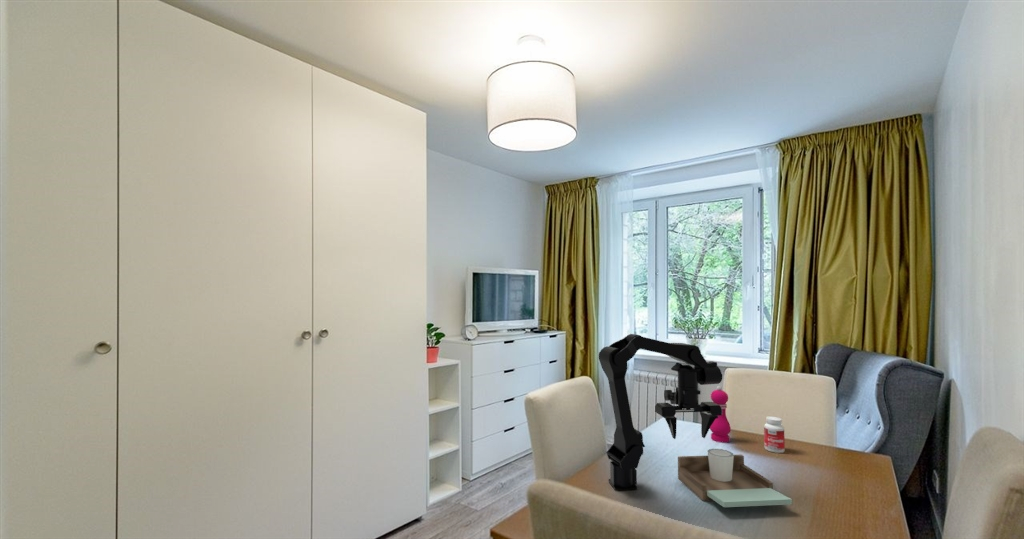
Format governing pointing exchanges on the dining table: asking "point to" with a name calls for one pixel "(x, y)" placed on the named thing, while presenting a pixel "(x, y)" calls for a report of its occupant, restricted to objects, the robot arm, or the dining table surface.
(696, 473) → the tray
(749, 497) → the tailgate
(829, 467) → the dining table surface
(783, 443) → the pill bottle
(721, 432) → the pepper mill
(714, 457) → the shot glass
